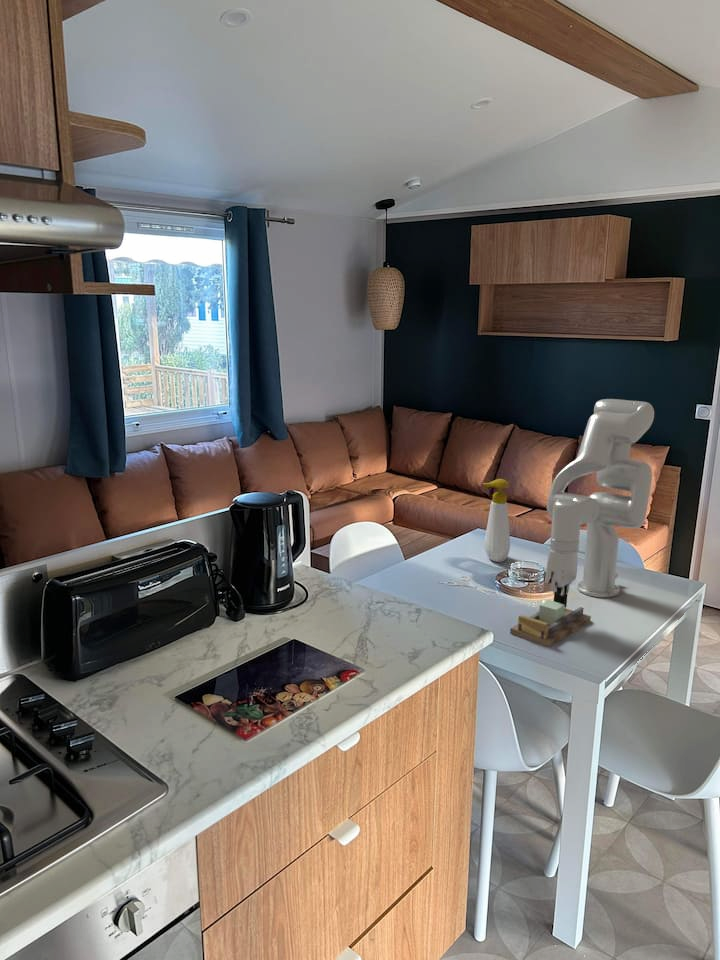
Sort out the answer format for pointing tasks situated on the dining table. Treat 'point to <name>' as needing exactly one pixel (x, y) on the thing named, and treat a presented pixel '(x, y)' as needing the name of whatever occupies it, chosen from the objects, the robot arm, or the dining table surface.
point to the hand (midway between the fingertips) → (559, 606)
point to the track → (549, 627)
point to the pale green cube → (551, 611)
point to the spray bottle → (498, 524)
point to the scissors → (468, 585)
